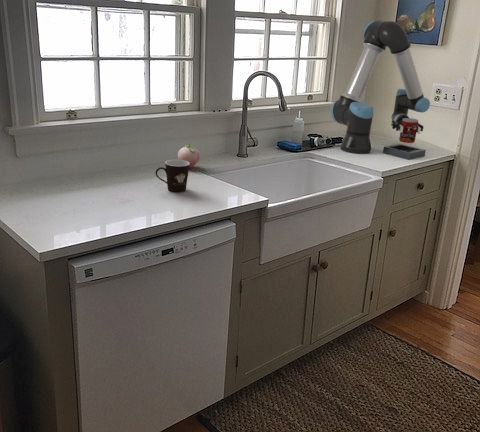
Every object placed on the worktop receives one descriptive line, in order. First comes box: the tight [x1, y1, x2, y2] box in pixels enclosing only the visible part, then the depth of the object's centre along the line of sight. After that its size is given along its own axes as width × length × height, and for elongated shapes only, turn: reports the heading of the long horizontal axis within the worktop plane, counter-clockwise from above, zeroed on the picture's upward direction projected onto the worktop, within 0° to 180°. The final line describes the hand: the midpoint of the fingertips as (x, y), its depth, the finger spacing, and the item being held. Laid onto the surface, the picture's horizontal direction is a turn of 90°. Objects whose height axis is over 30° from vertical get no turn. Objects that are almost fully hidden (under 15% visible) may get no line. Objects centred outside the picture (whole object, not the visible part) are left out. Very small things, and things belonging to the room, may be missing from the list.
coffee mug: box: [155, 159, 190, 194], centre depth 187 cm, size 12×9×10 cm
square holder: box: [382, 143, 427, 161], centre depth 265 cm, size 15×15×3 cm
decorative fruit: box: [177, 143, 201, 169], centre depth 215 cm, size 9×8×10 cm
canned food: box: [398, 117, 419, 144], centre depth 261 cm, size 8×8×11 cm
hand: (410, 130), depth 257 cm, fingers closed on canned food, 8 cm apart
